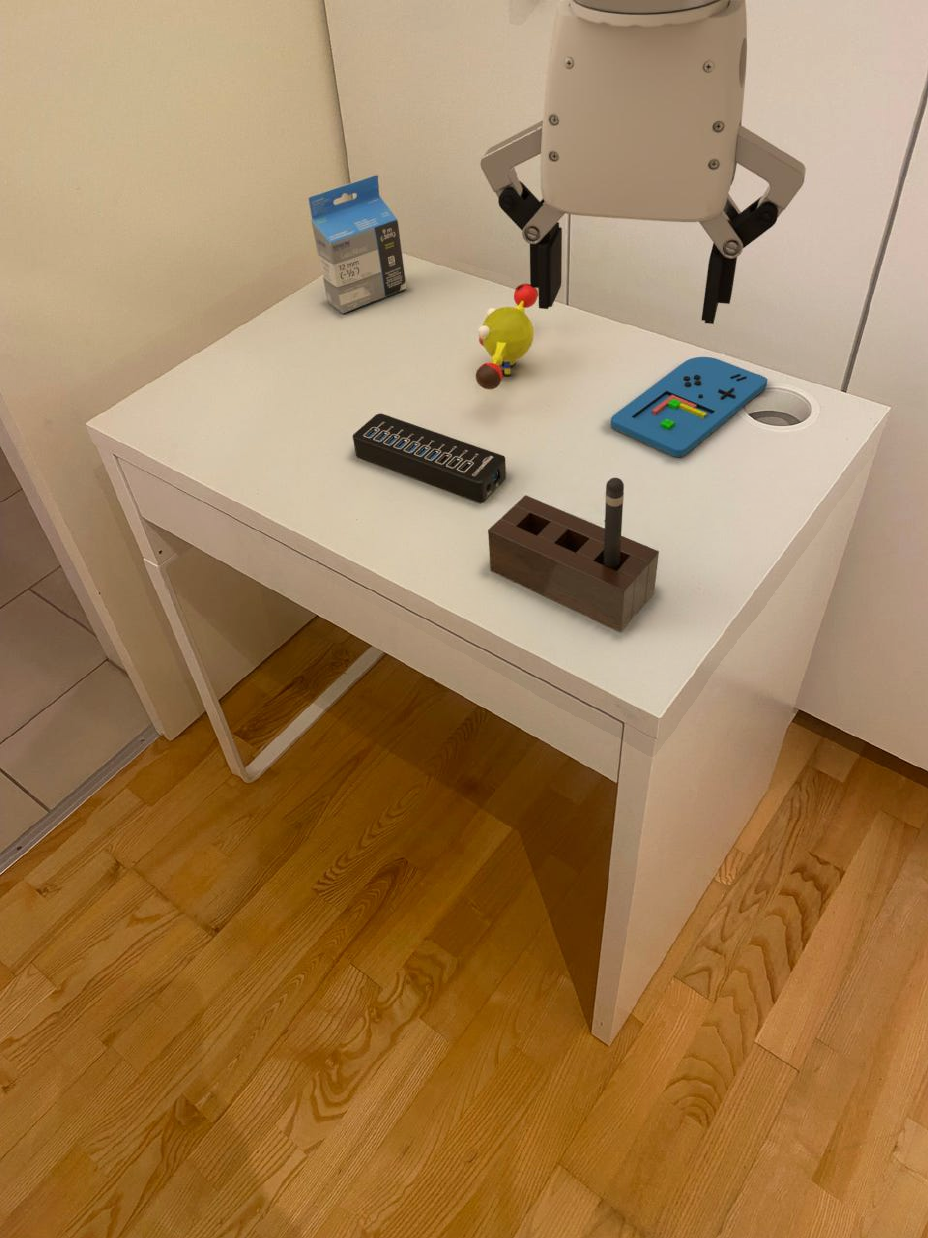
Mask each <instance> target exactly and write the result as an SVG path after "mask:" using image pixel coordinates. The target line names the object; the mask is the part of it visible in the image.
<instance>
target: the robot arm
mask: <svg viewBox="0 0 928 1238" xmlns="http://www.w3.org/2000/svg"><path fill="white" fill-rule="evenodd" d="M746 5H747V3H746V0H559V1H558V4H557V6H556V12H555V17H554V21H553V27H552V33H551V41H550V47H549V53H548V62H547V69H546V79H545V80H546V81H545V90H544V102H543V113H542V114H543V115H542V120H541V121H538V122H536V123H535V124H533V125H531V126H529V127H527V128H526V129H523V130H522V131H519V132H518V133H515V134H514V135H512V136H510V137H507V139H506V138H505V140H503V141H500V142H498V143H497V144H495V145H493V146H491V147H490V148H488V149H487V150H486V152H485V153H484V155H483V156H482V158H481V160H480V168H481V170H482V172H483V174H484V176H485V178H486V181H488V183H489V186H490V188H491V190H492V191H493V193H495V195H496V196H497V198H498V199H497V202H498V206H499V208H500V209H501V210H502V212H504V213H505V214H506V215H507V217H508V218H509V219H510V220H512V222H513V223H514V224H515V225H516V226H517V227H518V228H519V230H520V231H521V235H522V238H523V240H524V241H525V242H526V243H528V244H529V281H530V282H529V284H530V285H531V287H534V288H536V289H537V288H538V308H539V309H541V310H542V309H543V310H549V308H552V307H553V305H554V303H555V300H556V298H557V295H558V293H559V291H560V289H561V287H562V273H563V271H562V269H563V267H562V263H563V262H562V261H563V260H562V259H563V255H562V253H563V245H562V244H563V228H562V227H561V226H560V222H559V221H560V220H561V218H563V216H564V215H565V214H567V215H572V216H582V217H593V218H594V217H595V218H608V219H609V218H610V219H622V220H623V219H624V220H636V221H637V220H638V221H639V220H640V221H654V222H670V223H699V225H700V226H701V227H702V229H703V230H704V231H705V233H706V234H707V235H708V237H709V238H710V240H711V241H712V242H713V243H712V247H711V251H710V254H709V259H708V264H707V273H706V280H705V287H704V297H703V303H702V314H701V321H704V324H709V325H714V324H715V320H716V315H717V311H718V306H719V304H725V305H730V304H731V298H732V293H733V288H734V281H735V274H736V269H737V261H738V257H739V256H741V254H742V252H743V249H744V248H746V247H747V246H749V245H750V244H751V243H753V242H754V241H755V240H756V239H759V238H760V237H761V236H762V235H764V233H766V232H767V231H768V230H769V229H771V228H772V227H774V225H776V223H777V221H778V218H779V217H780V215H782V213H783V211H785V210H786V208H788V206H789V204H790V203H791V202H792V201H793V199H794V197H795V196H796V195H797V193H798V192H799V191H800V190H801V188H802V187H803V185H804V183H805V178H806V169H807V168H806V166H805V164H804V163H803V162H802V161H800V160H798V159H797V158H795V157H793V156H792V155H790V154H788V153H787V152H785V151H783V150H782V149H780V148H779V147H777V146H776V145H774V144H772V143H771V142H769V141H768V140H766V139H764V138H763V137H761V136H759V135H758V134H756V133H755V132H753V131H752V130H750V129H749V128H746V127H745V126H743V125H742V124H743V123H742V122H743V114H744V113H743V111H744V102H745V101H744V100H745V88H746V76H747V75H746V74H747V60H748V59H747V58H748V55H747V54H748V22H747V19H748V18H747V6H746ZM539 155H540V189H541V194H542V198H541V199H540V200H539V198H537V197H536V196H535V195H534V194H533V192H532V191H531V190H530V189H529V188H528V187H527V186H526V185H525V184H524V183H523V182H522V181H521V180H520V179H519V178H518V173H517V171H516V169H515V167H517V166H519V165H521V164H523V163H526V161H529V160H531V159H532V158H535V157H537V156H539ZM737 165H739V166H741V167H743V168H745V169H746V170H747V171H750V172H751V173H753V174H754V175H756V176H757V177H759V178H761V179H762V180H764V181H765V182H767V183H768V187H766V190H765V191H764V193H763V194H762V195H761V196H760V197H758V198H757V199H756V200H755V201H754V202H752V203H751V204H750V205H748V206H747V207H746V208H745V209H743V210H742V211H741V210H740V208H739V206H737V204H736V203H735V201H734V200H733V198H732V196H731V195H730V194H729V193H730V190H731V186H732V185H733V182H734V179H735V175H736V171H737Z"/></svg>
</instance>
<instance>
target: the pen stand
mask: <svg viewBox="0 0 928 1238" xmlns="http://www.w3.org/2000/svg"><path fill="white" fill-rule="evenodd" d="M487 535H488V548H489V549H488V551H489V566H490V567H489V568H490V571H491V572H493V573H495V574H497V575H499V576H500V577H502V578H505V579H507V580H509V581H511V582H513V583H515V584H518V585H520V586H522V587H524V588H526V589H528V590H531V591H532V592H535V593H537V594H538V595H541V596H543V597H545V598H548V599H549V600H552V601H553V602H555V603H557V604H560V605H562V606H564V607H566V608H568V609H570V610H572V611H575V612H576V613H579V614H581V615H582V616H585V617H587V618H590V619H591V620H593V621H595V622H598V623H600V624H602V625H604V626H606V627H608V628H610V629H612V630H614V631H617V632H619V633H622V632H623V631H624V629H625V628H626V627H627V626H628V624H630V622H631V621H632V620H633V619H634V617H636V616H637V614H638V613H639V612H640V611H641V610H642V608H643V607H644V606H645V604H646V603H647V602H648V601H649V600H650V599H651V597H652V596H653V595H654V594H655V591H656V582H657V581H656V580H657V575H658V563H659V557H660V556H659V555H660V551H658V550H657V549H654V548H652V547H649V546H647V545H645V544H643V543H640V542H638V541H635V540H633V539H630V538H628V537H626V536H623V535H621V549H620V567H619V569H618V570H617V571H616V570H613V569H611V568H609V567H606V566H604V538H605V527H602V526H600V525H598V524H596V523H593V522H591V521H588V520H586V519H583V518H581V517H579V516H576V515H574V514H571V513H569V512H567V511H564V510H562V509H560V508H557V507H554V506H553V505H551V504H548V503H545V502H543V501H541V500H539V499H536V498H534V497H532V496H529V495H526V494H525V495H524V496H523V497H522V498H521V499H520V500H518V501H517V502H516V503H515V504H514V505H513V506H512V507H511V508H510V509H509V510H508V511H507V512H506V513H505V514H504V515H502V517H500V518H499V519H498V520H497V521H496V522H495V523H494V524H493V525H491V527H490V528H489V529H488V530H487Z"/></svg>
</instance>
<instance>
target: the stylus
mask: <svg viewBox="0 0 928 1238" xmlns="http://www.w3.org/2000/svg"><path fill="white" fill-rule="evenodd" d="M624 491H625V484H624V482H623V480H622V479H621V478H619V477H611V478H610V479H609V480H607V482H606V484H605V499H604V500H605V509H604V512H605V513H604V528H605V538H604V566H606V567H609V568H611V569H613V570H616V571H617V570H618V569H619V567H620V549H621V536H622V530H623V529H622V528H623V511H624V510H623V509H624V500H625V499H624V496H625V492H624Z"/></svg>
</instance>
